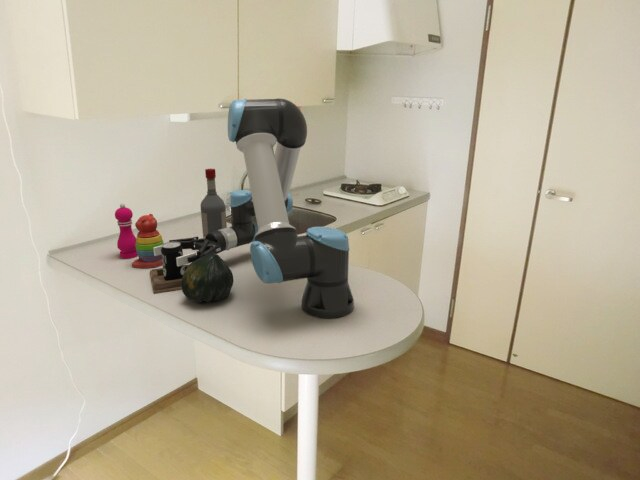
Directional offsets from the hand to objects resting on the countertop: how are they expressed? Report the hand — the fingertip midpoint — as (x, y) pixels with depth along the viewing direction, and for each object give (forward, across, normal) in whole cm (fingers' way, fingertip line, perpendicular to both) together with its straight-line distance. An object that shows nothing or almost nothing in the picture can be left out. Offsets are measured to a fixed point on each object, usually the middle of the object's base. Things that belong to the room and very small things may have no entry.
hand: (165, 256), depth 153 cm
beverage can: (-2, 0, -9) cm, 9 cm away
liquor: (-33, +20, -10) cm, 40 cm away
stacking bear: (-6, +21, -10) cm, 23 cm away
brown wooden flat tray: (-4, +1, -9) cm, 10 cm away
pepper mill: (-4, +34, -10) cm, 35 cm away
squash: (-3, -18, -10) cm, 21 cm away
